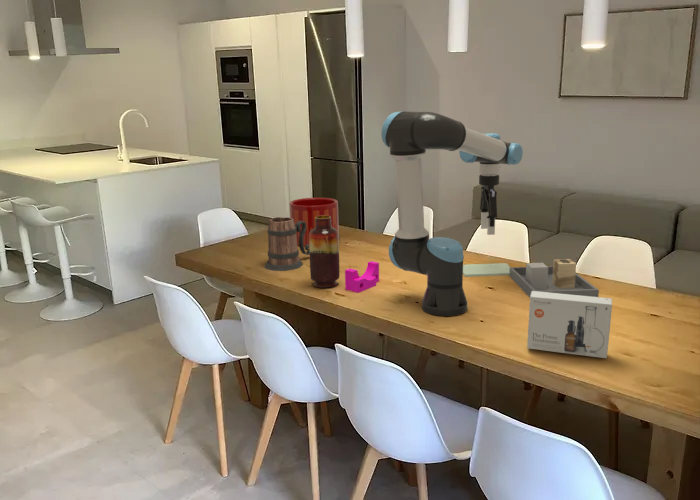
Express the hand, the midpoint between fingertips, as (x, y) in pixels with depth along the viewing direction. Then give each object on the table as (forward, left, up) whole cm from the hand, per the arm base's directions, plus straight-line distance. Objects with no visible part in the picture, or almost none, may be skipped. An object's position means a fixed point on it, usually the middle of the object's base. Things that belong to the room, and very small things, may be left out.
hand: (487, 231), depth 246 cm
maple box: (-23, -22, -16) cm, 36 cm away
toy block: (-13, +49, -17) cm, 54 cm away
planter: (+56, +69, -17) cm, 90 cm away
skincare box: (-78, -3, -17) cm, 80 cm away
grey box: (-23, -12, -16) cm, 31 cm away
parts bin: (-23, -18, -16) cm, 33 cm away
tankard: (+20, +79, -16) cm, 83 cm away
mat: (0, 0, -16) cm, 16 cm away
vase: (-10, +64, -16) cm, 67 cm away
